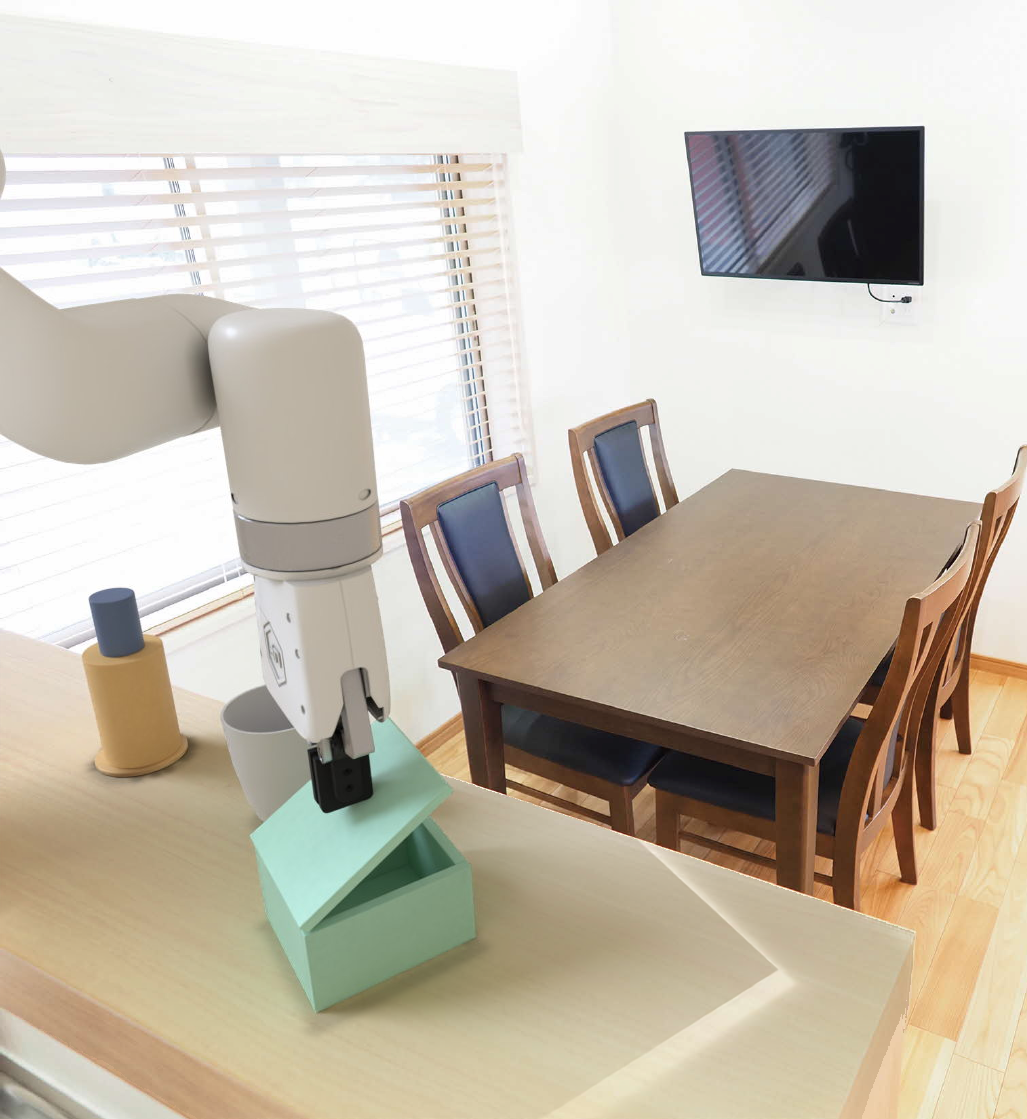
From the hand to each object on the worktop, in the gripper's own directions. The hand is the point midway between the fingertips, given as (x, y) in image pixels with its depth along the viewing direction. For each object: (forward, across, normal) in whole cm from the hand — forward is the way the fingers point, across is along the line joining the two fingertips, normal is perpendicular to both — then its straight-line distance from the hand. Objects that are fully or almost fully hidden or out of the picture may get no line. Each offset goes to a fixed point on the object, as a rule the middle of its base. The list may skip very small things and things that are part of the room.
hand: (344, 799), depth 61 cm
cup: (+12, -17, +1) cm, 21 cm away
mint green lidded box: (+12, 0, +1) cm, 12 cm away
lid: (+2, 0, 0) cm, 2 cm away
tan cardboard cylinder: (+11, -33, -7) cm, 36 cm away
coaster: (+12, -33, -7) cm, 36 cm away
